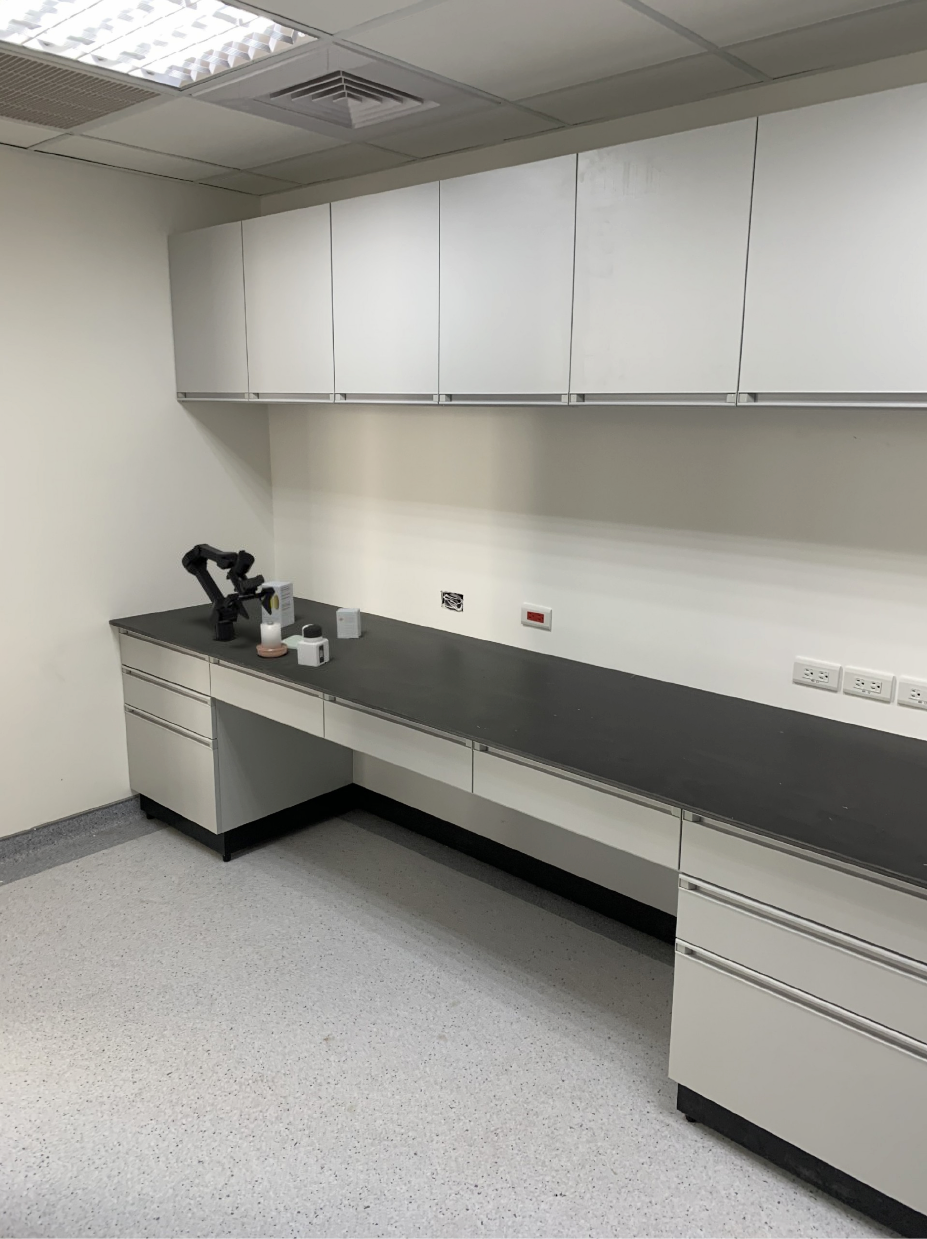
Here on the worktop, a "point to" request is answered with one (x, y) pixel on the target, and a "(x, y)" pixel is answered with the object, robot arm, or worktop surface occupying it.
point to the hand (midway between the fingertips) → (260, 616)
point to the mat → (293, 641)
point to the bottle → (271, 635)
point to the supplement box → (280, 603)
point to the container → (312, 647)
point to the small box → (348, 623)
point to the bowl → (272, 651)
